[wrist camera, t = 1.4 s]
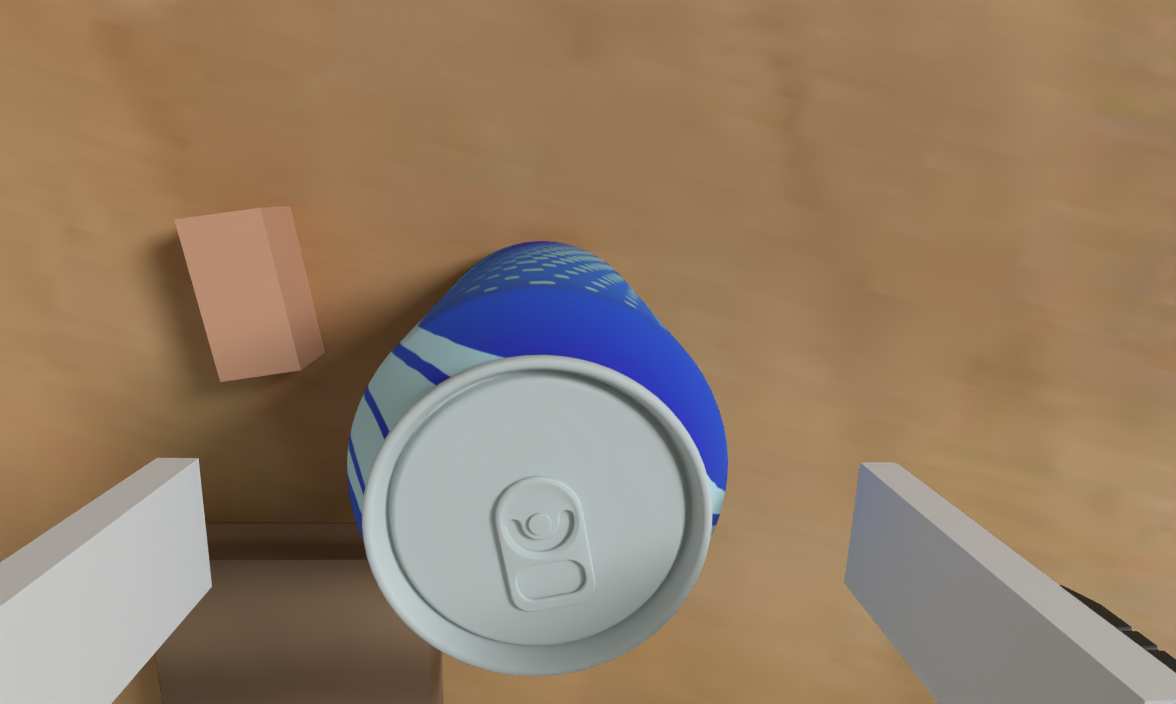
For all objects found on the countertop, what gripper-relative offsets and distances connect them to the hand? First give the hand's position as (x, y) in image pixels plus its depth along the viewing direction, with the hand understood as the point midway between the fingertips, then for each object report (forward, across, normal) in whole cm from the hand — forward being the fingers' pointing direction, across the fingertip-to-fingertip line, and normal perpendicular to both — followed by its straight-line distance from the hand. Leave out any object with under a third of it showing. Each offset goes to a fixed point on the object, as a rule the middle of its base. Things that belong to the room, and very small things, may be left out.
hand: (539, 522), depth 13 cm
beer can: (+15, 0, 0) cm, 15 cm away
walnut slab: (+15, -10, -14) cm, 23 cm away
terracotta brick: (+15, -11, +2) cm, 19 cm away
